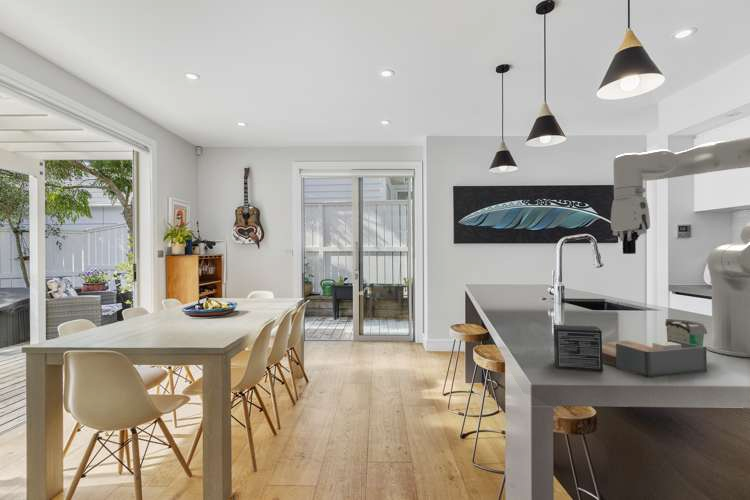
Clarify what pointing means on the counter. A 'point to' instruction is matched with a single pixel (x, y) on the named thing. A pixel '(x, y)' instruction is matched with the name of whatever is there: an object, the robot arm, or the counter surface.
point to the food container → (685, 331)
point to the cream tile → (665, 346)
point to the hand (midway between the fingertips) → (629, 253)
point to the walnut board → (610, 351)
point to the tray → (662, 360)
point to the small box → (578, 348)
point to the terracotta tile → (638, 347)
